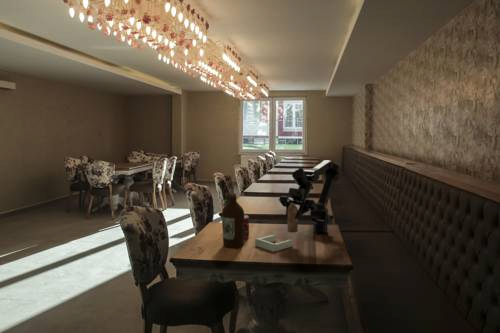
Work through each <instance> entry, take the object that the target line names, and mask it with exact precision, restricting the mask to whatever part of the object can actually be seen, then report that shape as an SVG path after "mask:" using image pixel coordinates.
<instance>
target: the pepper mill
mask: <svg viewBox="0 0 500 333" xmlns="http://www.w3.org/2000/svg"><path fill="white" fill-rule="evenodd" d="M298 210H299V208H298V207H297V205H294V203H291V205H290V206H289V207H288V217H287V232H288V233H297V232H298V231H299V229H298V228H299V223H298V222H299V218H298V219H295V217H296V214H297V212H298Z"/></svg>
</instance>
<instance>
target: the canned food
mask: <svg viewBox="0 0 500 333" xmlns="http://www.w3.org/2000/svg"><path fill="white" fill-rule="evenodd" d="M249 237H250V216H249V215H247V214H244V232H243V240H246V239H249Z"/></svg>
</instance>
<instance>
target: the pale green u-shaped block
mask: <svg viewBox="0 0 500 333" xmlns="http://www.w3.org/2000/svg"><path fill="white" fill-rule="evenodd" d="M254 239H255V240H254V242H255V244H254V246H256V247H259V248H261V249H265V250H267V251H270V252H272V253H273V252H278V251H281V250H284V249H287V248H291V247H293V239H288V240H284V241H281V242H277V243H274V242H276V234H272V235H267V236H263V237H259V238H258V237H256V238H254Z"/></svg>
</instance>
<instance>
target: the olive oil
mask: <svg viewBox="0 0 500 333" xmlns="http://www.w3.org/2000/svg"><path fill="white" fill-rule="evenodd" d="M228 195H229V197H228V199H229V200H228V202H227V203H226V205H225V206H224V207H223V208H222V210H221V211H222V212H221V224H222V240H223V242H222V244H223V245H222V246H223V247H224V248H225V249H240V248H242V247H243V246H244V239H243V232H244V215H245V210H244V208H243V207H242V206H241V205H240V204H239V202H237V201H238V200H237V193H234V192H230V193H228Z"/></svg>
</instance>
